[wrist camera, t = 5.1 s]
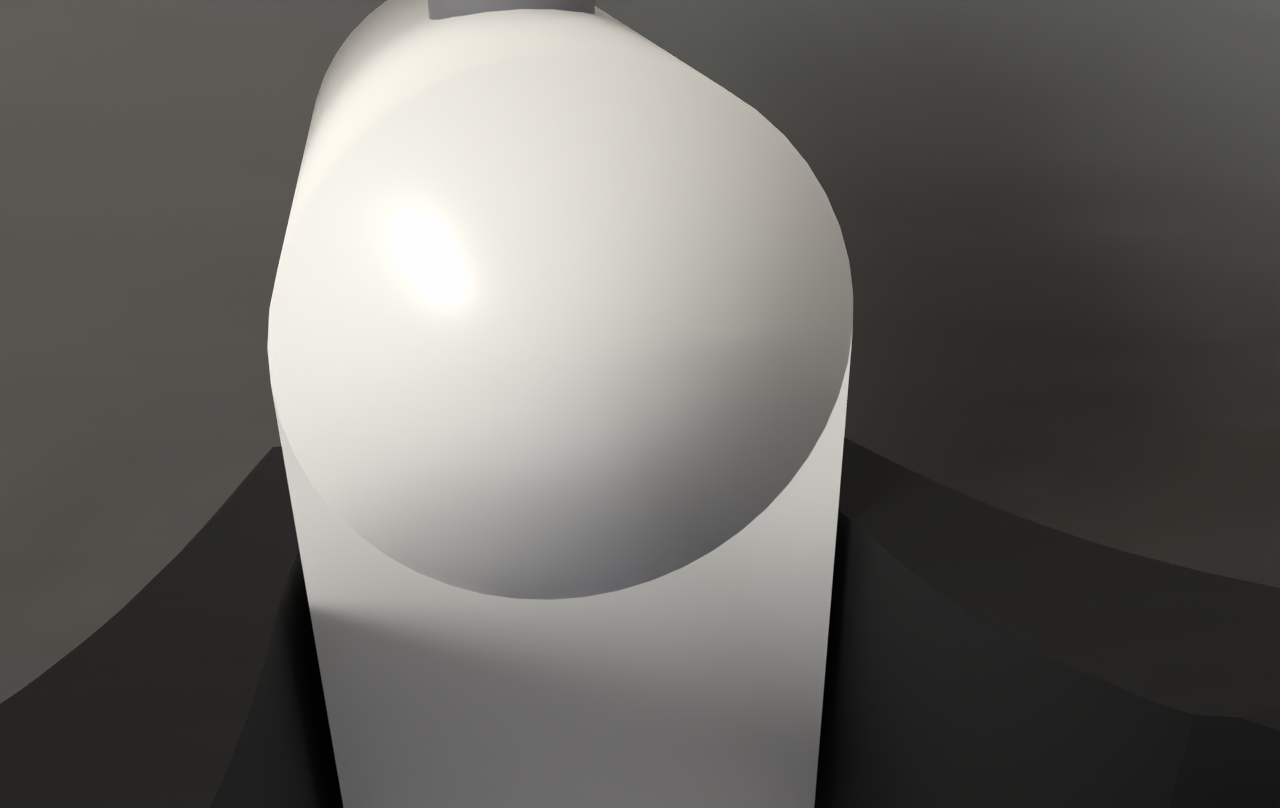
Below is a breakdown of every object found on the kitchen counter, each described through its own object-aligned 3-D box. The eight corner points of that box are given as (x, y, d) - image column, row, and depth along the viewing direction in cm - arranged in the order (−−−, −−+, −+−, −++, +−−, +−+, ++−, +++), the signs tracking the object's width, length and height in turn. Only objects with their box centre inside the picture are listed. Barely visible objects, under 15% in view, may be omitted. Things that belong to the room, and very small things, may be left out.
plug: (257, -210, 9) (159, -277, 5) (665, -210, 10) (900, -266, 6) (415, 913, 15) (434, 1340, 11) (665, 866, 16) (777, 1252, 11)
